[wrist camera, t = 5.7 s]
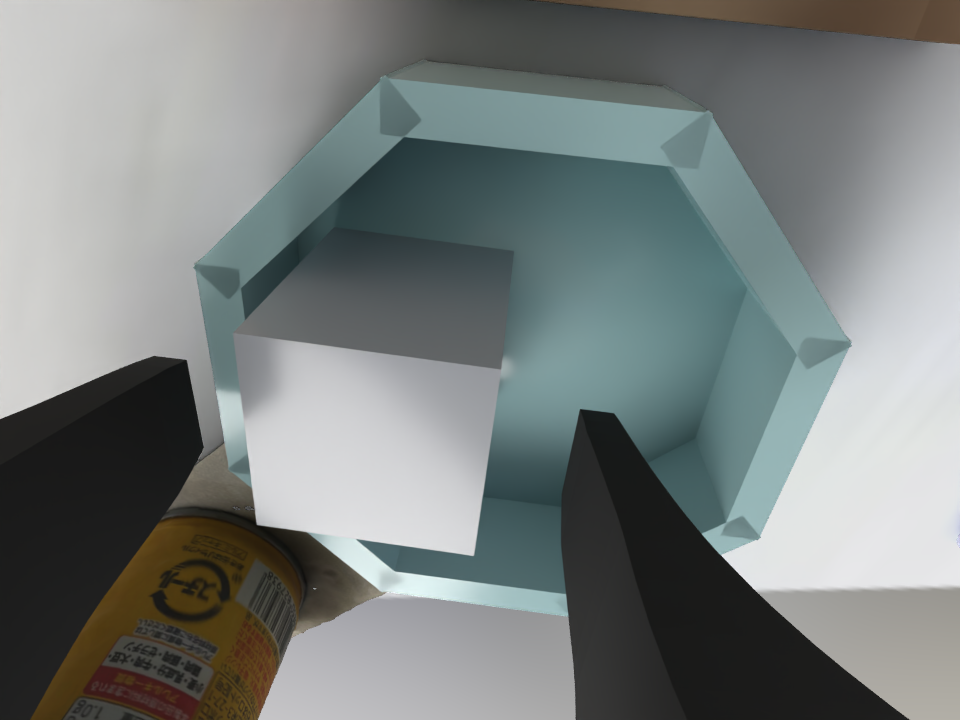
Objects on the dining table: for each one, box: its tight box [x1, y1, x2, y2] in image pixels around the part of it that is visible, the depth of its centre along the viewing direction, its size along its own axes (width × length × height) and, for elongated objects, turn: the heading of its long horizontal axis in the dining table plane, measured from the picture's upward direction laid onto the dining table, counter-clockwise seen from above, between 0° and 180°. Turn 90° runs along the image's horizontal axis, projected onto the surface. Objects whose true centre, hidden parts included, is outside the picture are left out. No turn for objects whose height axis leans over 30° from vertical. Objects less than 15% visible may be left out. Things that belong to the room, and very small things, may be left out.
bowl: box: [193, 59, 852, 616], centre depth 13 cm, size 12×12×4 cm
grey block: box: [233, 227, 514, 556], centre depth 12 cm, size 4×4×5 cm
